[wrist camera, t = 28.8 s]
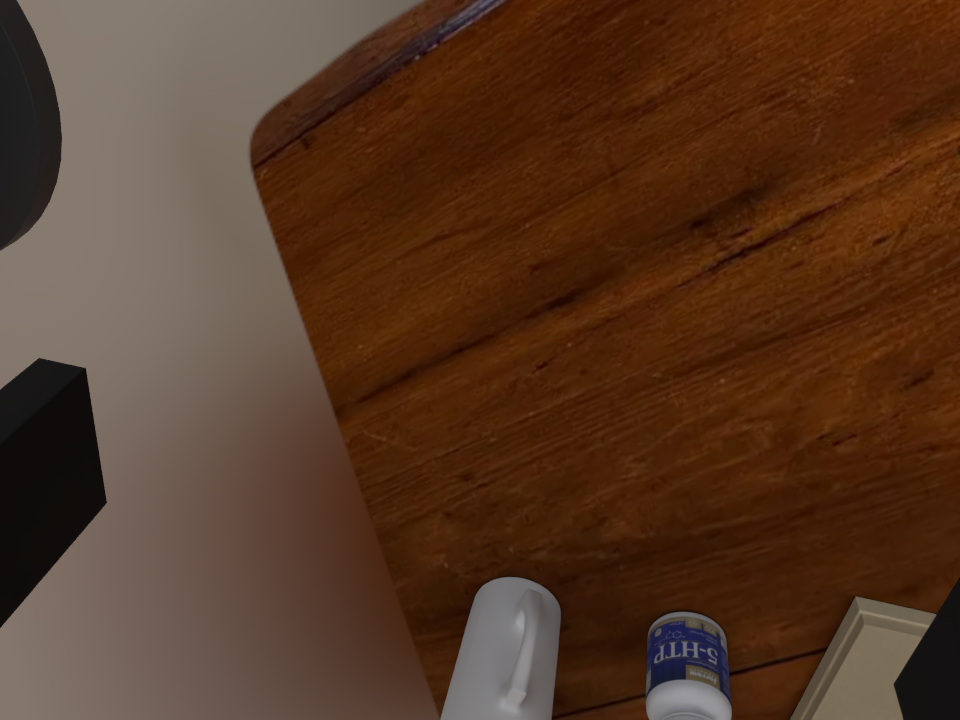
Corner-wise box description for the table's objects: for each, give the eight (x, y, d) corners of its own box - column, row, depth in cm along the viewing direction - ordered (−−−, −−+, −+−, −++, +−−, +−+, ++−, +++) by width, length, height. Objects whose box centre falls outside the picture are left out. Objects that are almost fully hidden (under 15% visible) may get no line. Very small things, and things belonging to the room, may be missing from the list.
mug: (546, 652, 61) (524, 811, 51) (460, 622, 61) (420, 774, 51) (595, 561, 55) (581, 718, 45) (500, 527, 55) (464, 677, 45)
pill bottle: (721, 607, 55) (731, 724, 48) (729, 661, 58) (740, 780, 50) (641, 610, 57) (638, 724, 49) (652, 662, 59) (651, 779, 52)
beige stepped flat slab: (784, 727, 60) (788, 754, 59) (855, 595, 53) (862, 621, 51) (897, 754, 60) (904, 782, 58) (985, 624, 52) (996, 651, 50)
